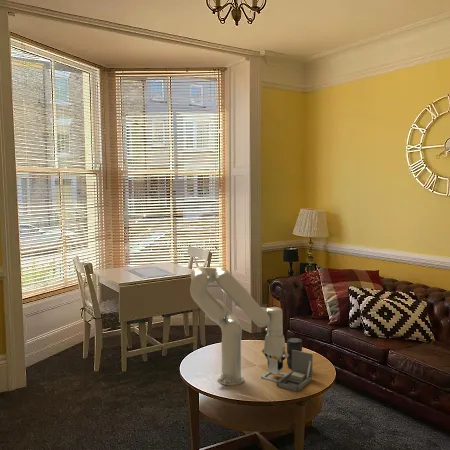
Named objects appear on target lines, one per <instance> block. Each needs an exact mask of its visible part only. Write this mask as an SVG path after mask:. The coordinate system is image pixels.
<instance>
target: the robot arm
mask: <svg viewBox="0 0 450 450" xmlns="http://www.w3.org/2000/svg"><path fill="white" fill-rule="evenodd" d="M190 279H191V281H190V287H189V293H190V296H191V298H192V300H193V302H195V304H196V305H197V306H198V308H200V309H201V310H202V311H203V312H204V313H205V315H206V316H207V318H208V319H209V320H211V321H213V322H215V324H217V325H218V326H219V328H220V331H221V375H220V376H219V377H218V379H217V381H216V382H217V383H218V384H221V385H224V386H229V387H230V386H231V387H234V386H238V385H242V384H243V383H244V382H245V377H244V376H243V375H242V334H243V333H242V332H243V329H242V325H241V323H240V321H239V319H238V317H237V316H236V315H235V314H234V313H233V312H232V311H231V310H230V309H229V307H227V305H226V304H225V303H224V302H223V301H222V300H221V299H219V298H216V297H215V296H214V295H213V294H212V293H211V292H210V291H209V290H208V289H209V288H208V285H216V286H217V287H218V288H219V289H220V290H221V291H222V292H223V293H224V294H225V295H226V296H227V297H228V298H229V299H230V300H231V301H232V302H233V303H234V304H235V306H237V308H239V309H240V310H241V311H242V312H244V314H245V315H246V316H247V317H248V318H249V319H250V320H251V321H253V323H254V324H255V325H256V326H258V327H259V328H265V327H267V328H265V332H266V334H265V338H264V342H263V343H264V346H263V349H262V350H261V352H262V354H263V355H264V356H265V359H266V360H267V368H269V359H268V358H269V357H271V356H276V357H278V358H279V362H278V369H279V370H280V369H282V370H283V368H284V360H287V357H289V355H288V353H287V347H286V340H285V335H284V334H283V325H284V324H283V309H282V308H280V307H278V306H272V307H263V306H260V305H259V303H258V302H257V301H256V300H255V299H254V297H252V295H251V294H250V293H249V290H247V289H246V288H245V287H244V286H243V285H242V284H241V283H240V282H239V281H238V280H237V279H236V278H235V277H234V276H233V275H232V274H231V272H229V270H228V269H226V268H225V267H223V268H222V267H209V266H208V267H203V266H198V267H195V268H194V269H192V270H191V272H190Z"/></svg>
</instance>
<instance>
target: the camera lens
mask: <svg viewBox="0 0 450 450" xmlns="http://www.w3.org/2000/svg"><path fill="white" fill-rule="evenodd" d="M292 350H296V351H301V352H303V340H302V339H301V338H297V337H289V338H288V339H287V340H286V352H287V353H288V355H289V357H287V358H286V365H287V368H288V369H291V370H292Z"/></svg>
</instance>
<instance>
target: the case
mask: <svg viewBox="0 0 450 450" xmlns="http://www.w3.org/2000/svg"><path fill="white" fill-rule="evenodd" d="M313 355H314V354H313V353H311V352H305V351H302V352H301V351H296V350H292V369H291V371H290V372H288V373H286V374H287V375H286V376H285V377H283V376H282V377H283V378H282V377H281V378H282V379H281V378H280V379H281V380H279V379H278V380H279V381H278V382H276V387H278V388H281V389H285V390H289V391H292V392H296V393H298V392H299V391H301V390H302V389H303V388H304V387H305V386H306V385H307V384H309V383H310V382H311V381H312V380H313V378H312V377H313V370H314V369H313Z"/></svg>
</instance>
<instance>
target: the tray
mask: <svg viewBox="0 0 450 450" xmlns="http://www.w3.org/2000/svg"><path fill="white" fill-rule="evenodd" d="M270 374H271V373H269V371H267V372H266V373H265V374H263V375H262V376H261V377H260V379H263V380H266V381H271V382H275V383H277V382H278V381H279V380H281V379H282V378H283V377H285V376H286V375H287V374H288V373H284V372H280V373H279V374H278V375H281V376H282V377H280V378H279V379H275V378H270V377H268V376H269V375H270Z"/></svg>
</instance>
